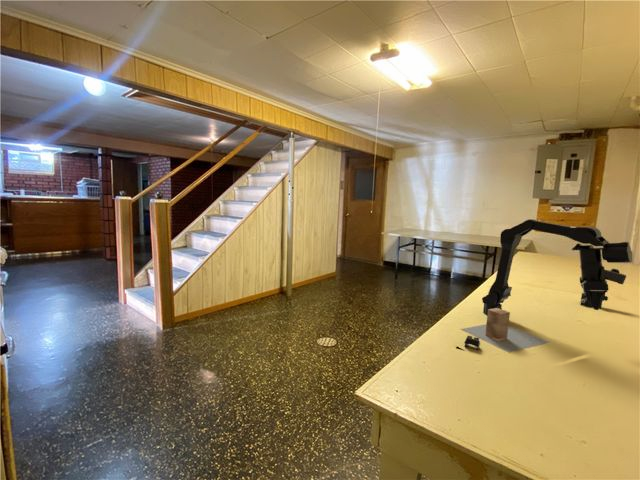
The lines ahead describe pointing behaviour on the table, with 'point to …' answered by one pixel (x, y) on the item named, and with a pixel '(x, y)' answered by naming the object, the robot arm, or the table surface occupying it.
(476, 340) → the black mounting bracket
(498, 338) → the walnut post
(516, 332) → the slate mat
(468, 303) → the table surface
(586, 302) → the scope
